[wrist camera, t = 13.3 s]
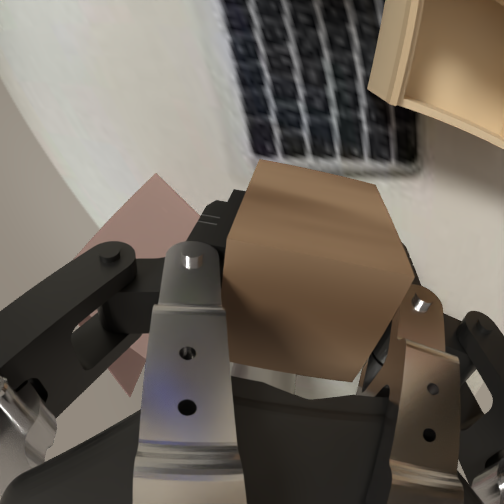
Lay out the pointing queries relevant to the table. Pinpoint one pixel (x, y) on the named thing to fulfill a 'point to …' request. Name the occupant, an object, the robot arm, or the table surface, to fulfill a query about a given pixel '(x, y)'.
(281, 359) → the block
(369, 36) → the table surface
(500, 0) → the lid
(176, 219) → the greeting card
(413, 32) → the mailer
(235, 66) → the table surface
